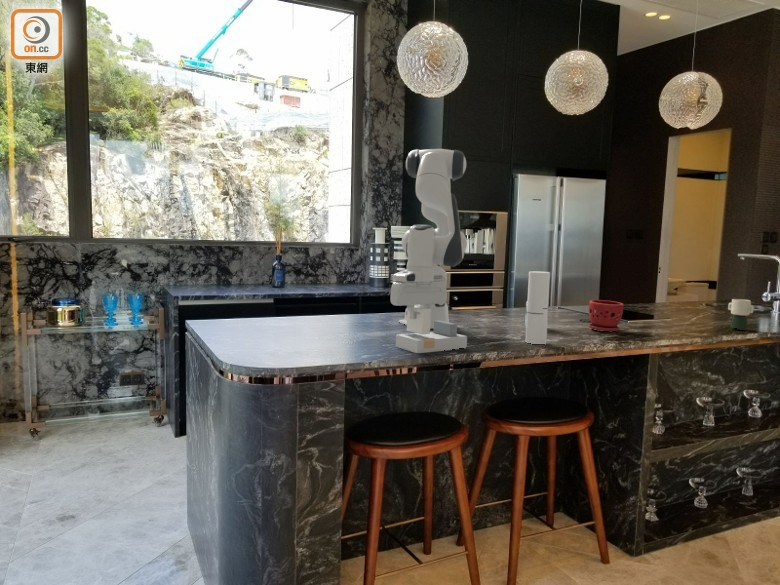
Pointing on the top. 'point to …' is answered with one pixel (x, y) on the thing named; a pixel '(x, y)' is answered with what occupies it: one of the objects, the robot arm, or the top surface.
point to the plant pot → (605, 315)
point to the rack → (433, 339)
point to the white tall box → (537, 307)
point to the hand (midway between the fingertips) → (418, 318)
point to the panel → (419, 320)
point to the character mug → (740, 312)
